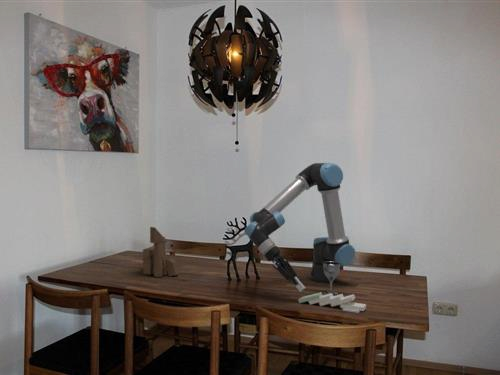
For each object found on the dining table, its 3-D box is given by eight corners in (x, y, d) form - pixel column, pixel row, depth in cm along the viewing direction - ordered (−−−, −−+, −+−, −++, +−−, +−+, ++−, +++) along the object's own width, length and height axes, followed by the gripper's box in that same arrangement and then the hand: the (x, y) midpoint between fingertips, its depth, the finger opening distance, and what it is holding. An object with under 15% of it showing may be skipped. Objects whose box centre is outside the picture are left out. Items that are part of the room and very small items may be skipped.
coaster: (347, 305, 204) (347, 304, 204) (362, 307, 201) (362, 306, 201) (342, 310, 197) (342, 309, 197) (358, 312, 194) (358, 311, 194)
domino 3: (318, 302, 203) (339, 296, 199) (322, 299, 208) (342, 293, 203) (320, 306, 203) (340, 300, 199) (323, 303, 207) (343, 297, 203)
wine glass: (337, 291, 228) (337, 261, 227) (340, 295, 220) (341, 264, 219) (321, 291, 228) (321, 261, 227) (324, 295, 220) (325, 264, 219)
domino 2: (308, 301, 205) (328, 295, 201) (312, 298, 210) (332, 293, 206) (309, 304, 205) (330, 299, 201) (313, 301, 210) (333, 296, 205)
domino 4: (330, 303, 201) (351, 296, 197) (333, 300, 205) (353, 294, 201) (331, 306, 201) (352, 300, 196) (334, 303, 205) (355, 297, 201)
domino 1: (298, 299, 207) (318, 294, 203) (301, 296, 212) (321, 292, 208) (299, 303, 207) (319, 298, 203) (302, 300, 212) (322, 295, 207)
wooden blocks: (171, 280, 247) (171, 228, 246) (137, 277, 253) (137, 226, 251) (189, 270, 270) (189, 223, 269) (158, 268, 276) (158, 221, 275)
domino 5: (340, 304, 199) (363, 307, 195) (343, 301, 203) (366, 304, 199) (340, 307, 199) (363, 311, 195) (343, 304, 203) (366, 307, 199)
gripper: (270, 253, 223) (302, 291, 216) (258, 257, 211) (292, 298, 204) (280, 243, 220) (312, 281, 214) (269, 247, 208) (303, 288, 202)
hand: (302, 289), depth 209 cm, fingers closed
